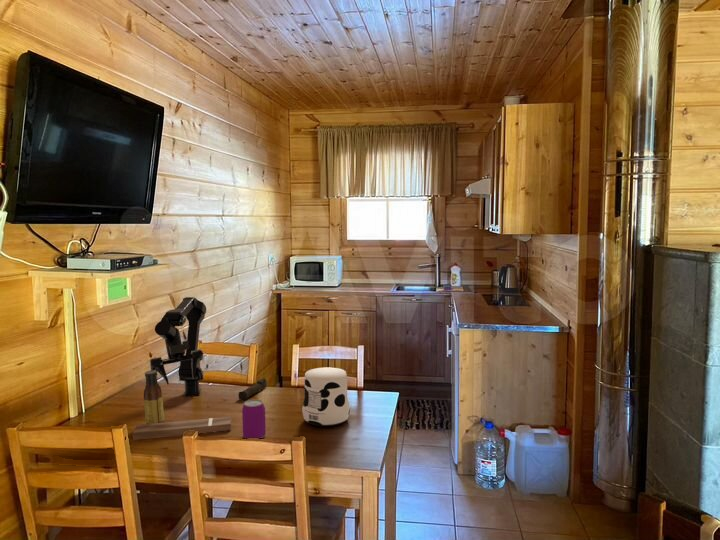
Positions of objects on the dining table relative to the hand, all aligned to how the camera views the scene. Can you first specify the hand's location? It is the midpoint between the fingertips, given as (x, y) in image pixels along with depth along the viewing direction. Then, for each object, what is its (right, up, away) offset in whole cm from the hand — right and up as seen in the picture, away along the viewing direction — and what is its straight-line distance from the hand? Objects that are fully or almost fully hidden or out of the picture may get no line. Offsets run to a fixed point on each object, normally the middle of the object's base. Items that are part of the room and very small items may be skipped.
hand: (181, 381), depth 193 cm
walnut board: (+5, -15, -10) cm, 19 cm away
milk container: (+54, -14, -2) cm, 56 cm away
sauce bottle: (-8, -15, -4) cm, 18 cm away
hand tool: (+21, -12, +30) cm, 38 cm away
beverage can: (+30, -16, -15) cm, 37 cm away
